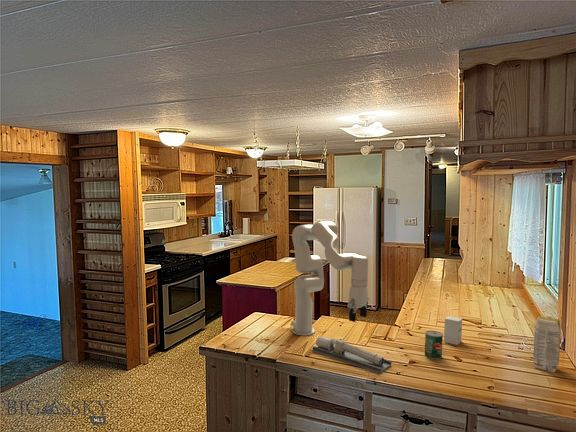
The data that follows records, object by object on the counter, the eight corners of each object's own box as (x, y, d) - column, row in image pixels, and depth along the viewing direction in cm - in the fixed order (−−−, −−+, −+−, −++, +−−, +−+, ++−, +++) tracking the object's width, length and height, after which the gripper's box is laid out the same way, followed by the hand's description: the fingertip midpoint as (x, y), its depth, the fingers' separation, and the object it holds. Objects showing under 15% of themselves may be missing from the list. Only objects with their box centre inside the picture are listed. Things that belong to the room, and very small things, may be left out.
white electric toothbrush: (380, 359, 169) (332, 337, 184) (377, 373, 169) (330, 350, 185) (385, 355, 173) (338, 334, 188) (383, 369, 173) (336, 347, 189)
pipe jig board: (312, 351, 189) (312, 337, 188) (325, 345, 197) (325, 332, 197) (380, 374, 165) (380, 358, 165) (391, 365, 174) (391, 351, 173)
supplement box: (458, 345, 200) (459, 321, 199) (443, 342, 205) (444, 318, 204) (461, 341, 206) (462, 318, 205) (447, 338, 210) (448, 315, 210)
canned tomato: (440, 360, 181) (441, 337, 180) (423, 356, 184) (424, 334, 184) (443, 354, 188) (443, 332, 187) (426, 351, 191) (426, 329, 191)
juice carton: (559, 368, 174) (562, 316, 173) (556, 374, 168) (559, 320, 167) (535, 362, 180) (537, 311, 179) (531, 367, 175) (534, 315, 173)
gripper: (361, 278, 188) (360, 313, 189) (342, 284, 175) (340, 321, 176) (375, 281, 184) (374, 316, 185) (356, 287, 170) (355, 325, 171)
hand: (357, 318), depth 180 cm, fingers open, 9 cm apart
